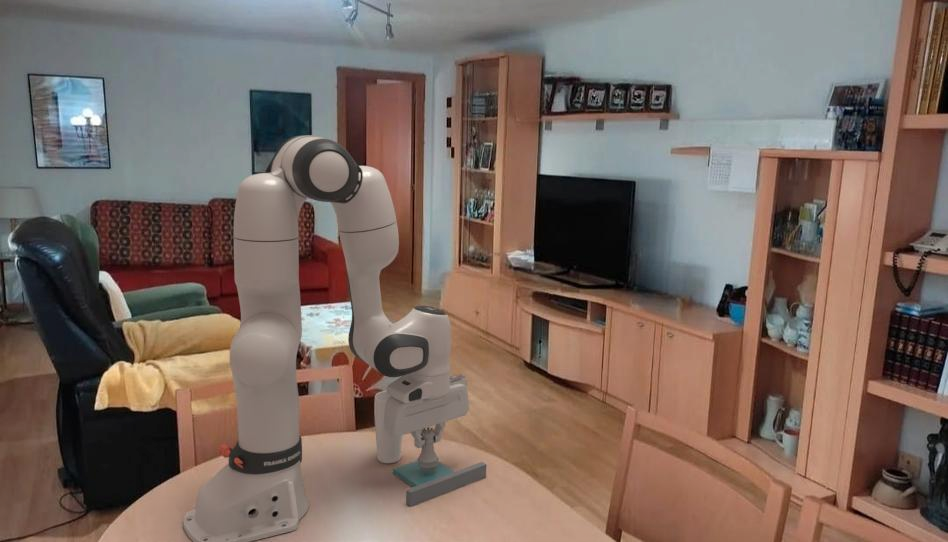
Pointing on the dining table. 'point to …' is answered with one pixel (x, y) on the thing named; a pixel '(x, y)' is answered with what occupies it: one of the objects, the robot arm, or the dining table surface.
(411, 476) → the coaster
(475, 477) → the low wall
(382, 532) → the dining table surface
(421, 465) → the rook chess piece
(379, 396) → the drinking glass
